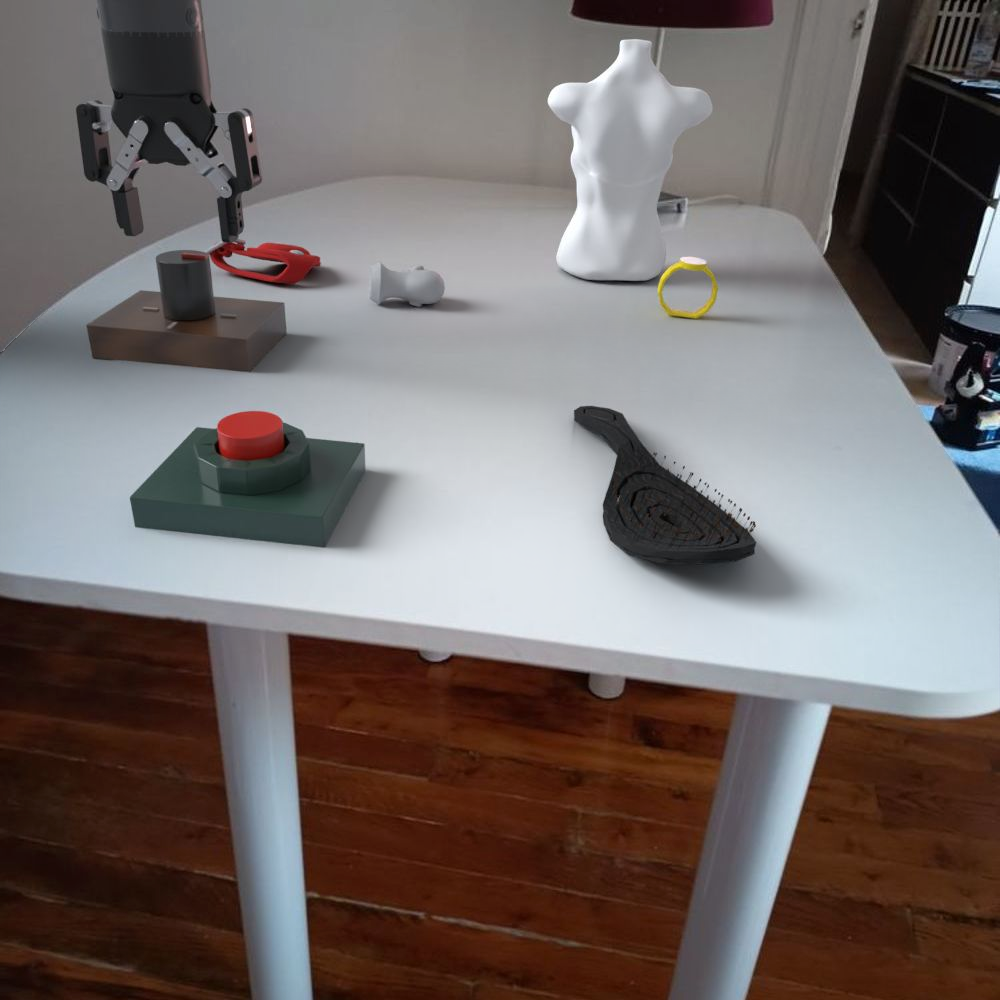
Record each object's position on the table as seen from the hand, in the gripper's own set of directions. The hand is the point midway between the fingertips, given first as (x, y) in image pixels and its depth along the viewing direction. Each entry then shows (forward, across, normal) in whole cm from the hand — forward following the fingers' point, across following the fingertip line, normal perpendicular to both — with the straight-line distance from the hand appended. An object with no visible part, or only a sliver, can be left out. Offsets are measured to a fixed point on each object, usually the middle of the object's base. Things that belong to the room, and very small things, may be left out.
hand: (182, 237), depth 78 cm
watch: (+10, -45, -19) cm, 50 cm away
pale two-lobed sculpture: (+10, -16, -17) cm, 25 cm away
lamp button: (+6, -15, +25) cm, 30 cm away
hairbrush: (+10, -40, +20) cm, 45 cm away
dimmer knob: (+7, 0, 0) cm, 7 cm away
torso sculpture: (+10, -37, -34) cm, 51 cm away
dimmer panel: (+10, 0, 0) cm, 10 cm away
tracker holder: (+10, +1, -23) cm, 25 cm away
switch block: (+10, -15, +25) cm, 31 cm away
